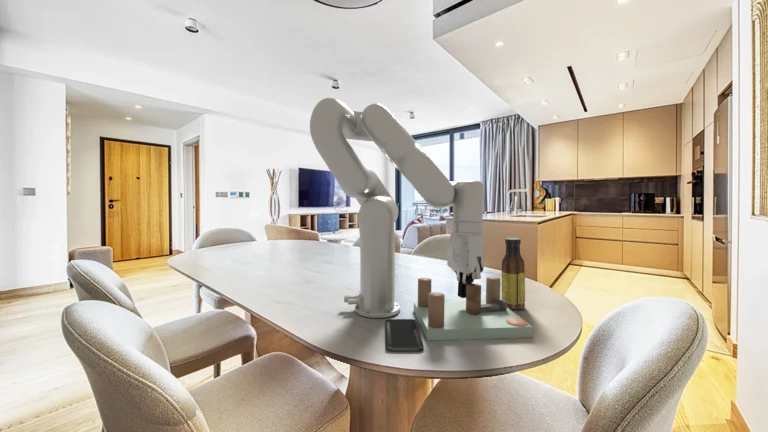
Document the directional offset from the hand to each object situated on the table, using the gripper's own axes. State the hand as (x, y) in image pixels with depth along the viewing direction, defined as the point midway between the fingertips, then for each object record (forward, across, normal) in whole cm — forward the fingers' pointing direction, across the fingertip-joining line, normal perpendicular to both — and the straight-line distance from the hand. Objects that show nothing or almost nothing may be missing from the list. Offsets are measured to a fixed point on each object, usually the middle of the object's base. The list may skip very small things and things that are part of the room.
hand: (464, 296), depth 81 cm
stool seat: (+5, +4, -2) cm, 7 cm away
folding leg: (+2, +5, +3) cm, 6 cm away
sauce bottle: (+5, 0, +17) cm, 18 cm away
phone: (+6, +4, -20) cm, 22 cm away
